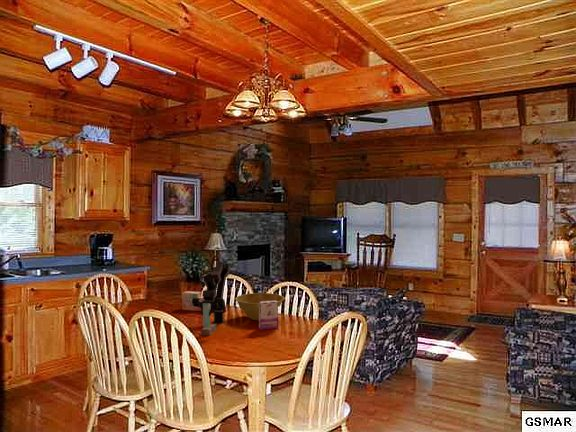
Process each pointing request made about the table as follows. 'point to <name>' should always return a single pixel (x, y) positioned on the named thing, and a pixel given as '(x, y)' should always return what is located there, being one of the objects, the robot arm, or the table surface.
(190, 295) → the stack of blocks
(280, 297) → the planter bowl
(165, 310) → the table surface
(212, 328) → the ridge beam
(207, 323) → the rod
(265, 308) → the candy bar box
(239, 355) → the table surface
